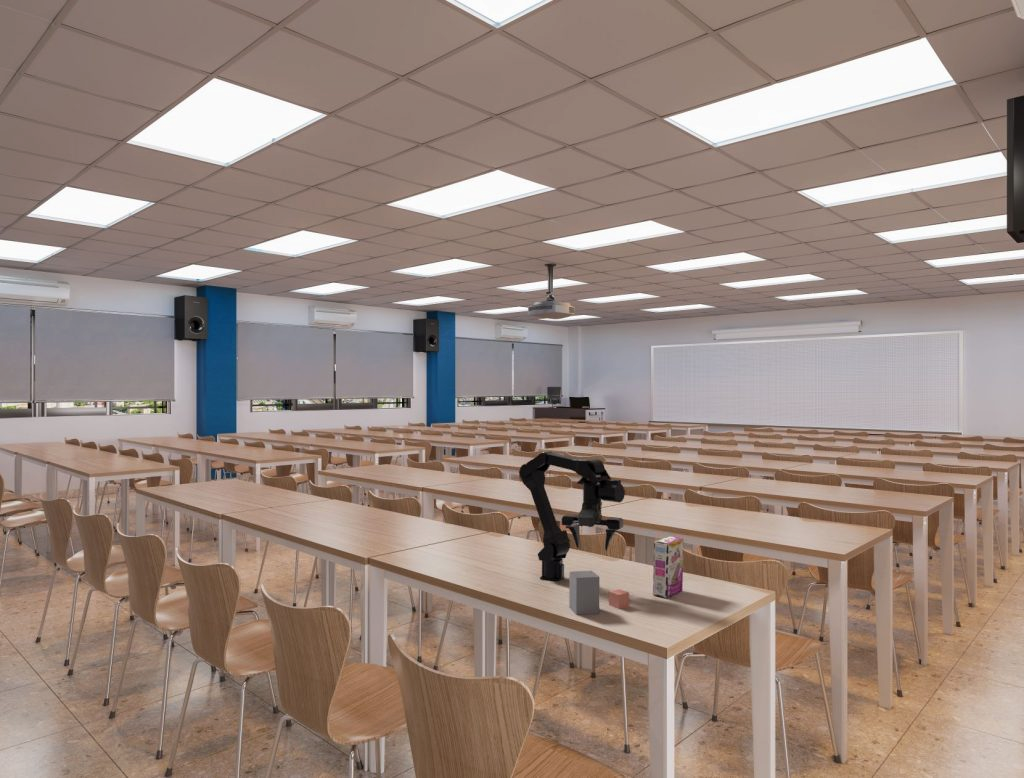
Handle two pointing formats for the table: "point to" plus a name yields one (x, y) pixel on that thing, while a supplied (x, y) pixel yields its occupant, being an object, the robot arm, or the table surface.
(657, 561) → the candy bar box
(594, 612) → the grey upright block
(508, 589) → the table surface
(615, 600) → the red block
